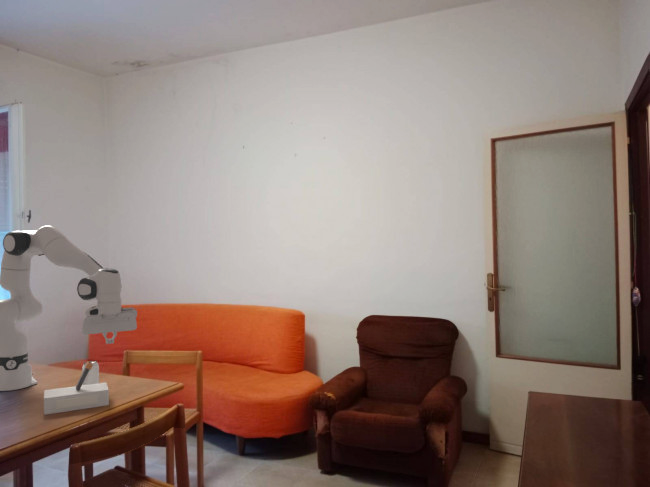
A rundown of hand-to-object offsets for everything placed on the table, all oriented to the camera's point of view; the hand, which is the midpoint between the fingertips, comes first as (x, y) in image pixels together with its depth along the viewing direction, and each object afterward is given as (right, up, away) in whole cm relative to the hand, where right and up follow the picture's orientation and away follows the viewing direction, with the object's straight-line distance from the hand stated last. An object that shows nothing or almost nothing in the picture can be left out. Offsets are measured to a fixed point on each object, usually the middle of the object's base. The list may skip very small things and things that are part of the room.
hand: (110, 343), depth 198 cm
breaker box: (-10, -23, -6) cm, 26 cm away
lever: (-11, -17, -6) cm, 21 cm away
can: (-14, -23, +14) cm, 31 cm away
